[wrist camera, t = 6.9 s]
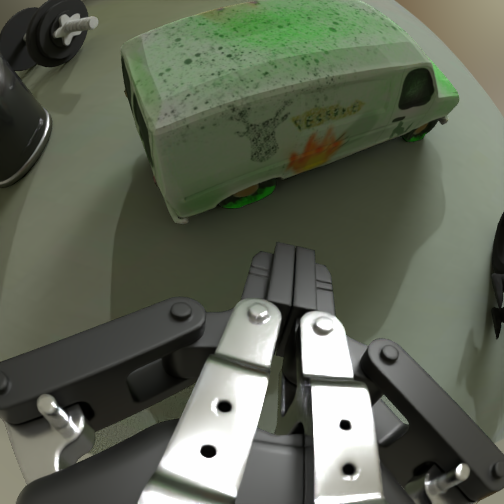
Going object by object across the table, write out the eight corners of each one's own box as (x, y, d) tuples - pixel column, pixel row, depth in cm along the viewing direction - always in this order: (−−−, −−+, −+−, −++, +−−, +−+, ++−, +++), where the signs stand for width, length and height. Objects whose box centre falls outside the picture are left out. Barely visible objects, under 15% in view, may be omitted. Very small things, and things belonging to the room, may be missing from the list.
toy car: (439, 135, 21) (493, 69, 12) (183, 241, 19) (125, 163, 9) (375, 61, 24) (403, -9, 14) (141, 129, 21) (97, 39, 11)
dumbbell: (131, 30, 25) (111, -29, 16) (82, 82, 23) (46, 18, 13) (38, 43, 27) (16, 5, 17) (0, 86, 25) (-29, 49, 15)
